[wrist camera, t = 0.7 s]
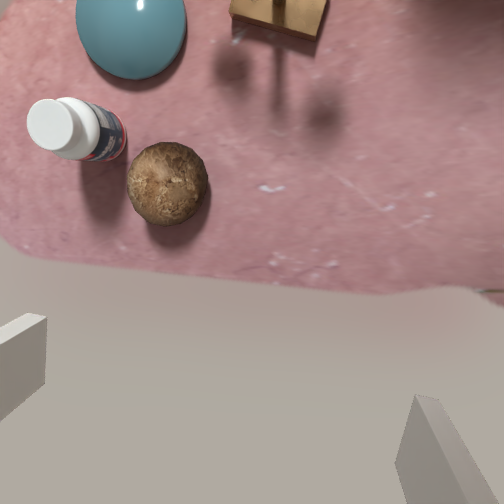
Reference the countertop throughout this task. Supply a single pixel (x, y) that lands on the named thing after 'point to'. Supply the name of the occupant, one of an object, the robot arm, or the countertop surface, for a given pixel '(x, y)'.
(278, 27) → the balance
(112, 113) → the pill bottle
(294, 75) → the countertop surface
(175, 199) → the mushroom
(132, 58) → the dish
